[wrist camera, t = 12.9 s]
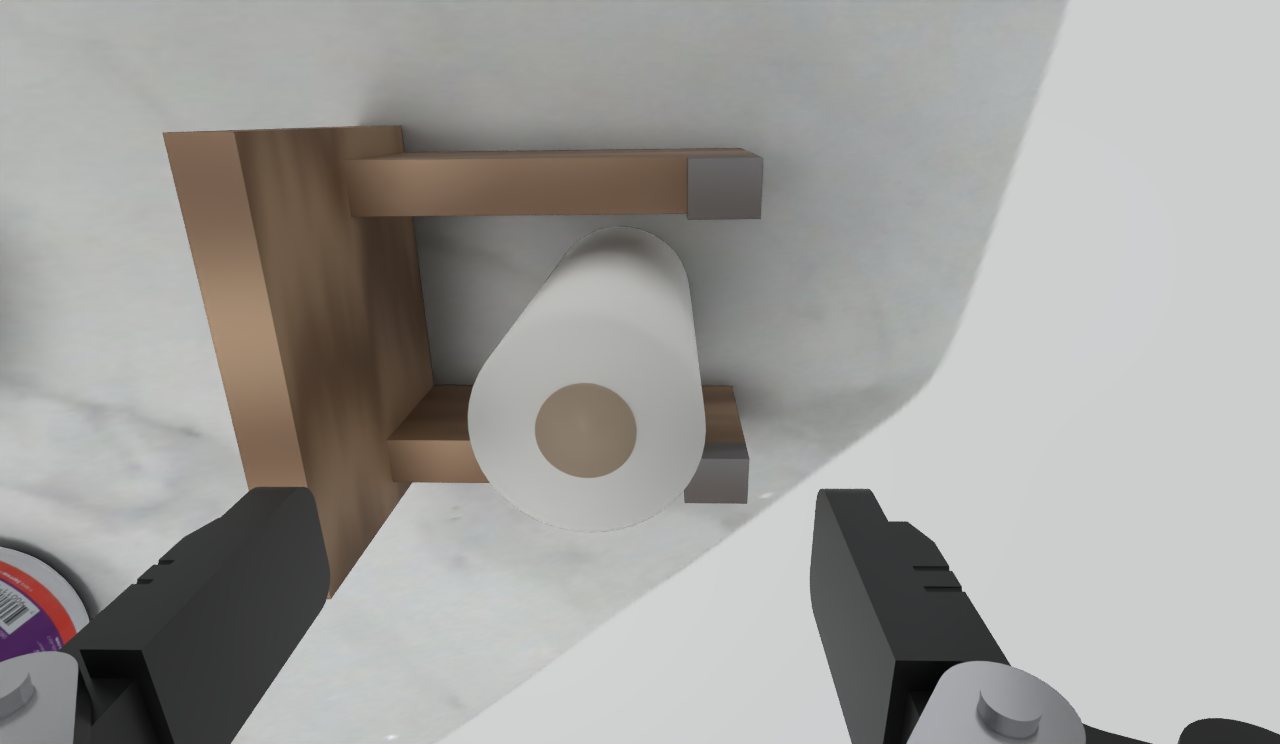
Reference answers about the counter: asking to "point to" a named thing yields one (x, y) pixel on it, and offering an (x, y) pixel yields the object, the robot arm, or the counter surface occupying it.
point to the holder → (392, 298)
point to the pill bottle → (35, 606)
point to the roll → (595, 389)
